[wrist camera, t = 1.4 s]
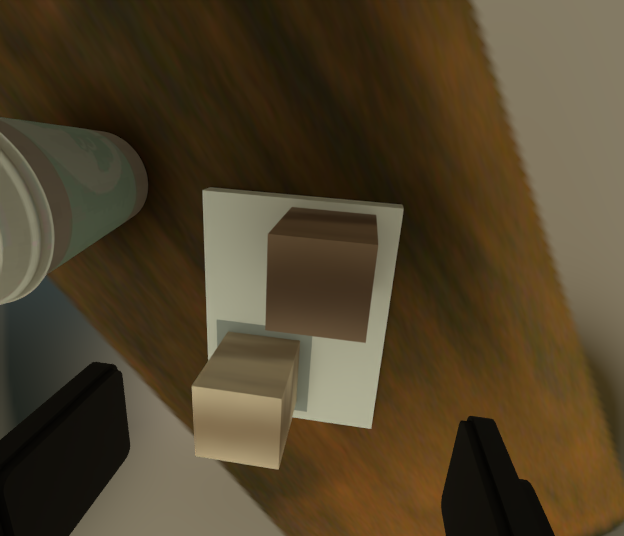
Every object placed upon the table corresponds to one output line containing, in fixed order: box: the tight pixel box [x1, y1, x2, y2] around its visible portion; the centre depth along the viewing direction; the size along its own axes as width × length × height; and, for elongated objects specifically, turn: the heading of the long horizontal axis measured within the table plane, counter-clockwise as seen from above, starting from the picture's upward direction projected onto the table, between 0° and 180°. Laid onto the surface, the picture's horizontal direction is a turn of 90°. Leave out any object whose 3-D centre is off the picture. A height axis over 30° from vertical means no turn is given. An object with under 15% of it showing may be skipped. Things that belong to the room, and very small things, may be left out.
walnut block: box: [265, 207, 378, 343], centre depth 22 cm, size 5×5×6 cm
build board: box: [202, 187, 404, 429], centre depth 27 cm, size 16×12×1 cm
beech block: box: [192, 332, 300, 470], centre depth 25 cm, size 5×5×6 cm
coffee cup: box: [0, 117, 148, 305], centre depth 20 cm, size 8×9×12 cm
